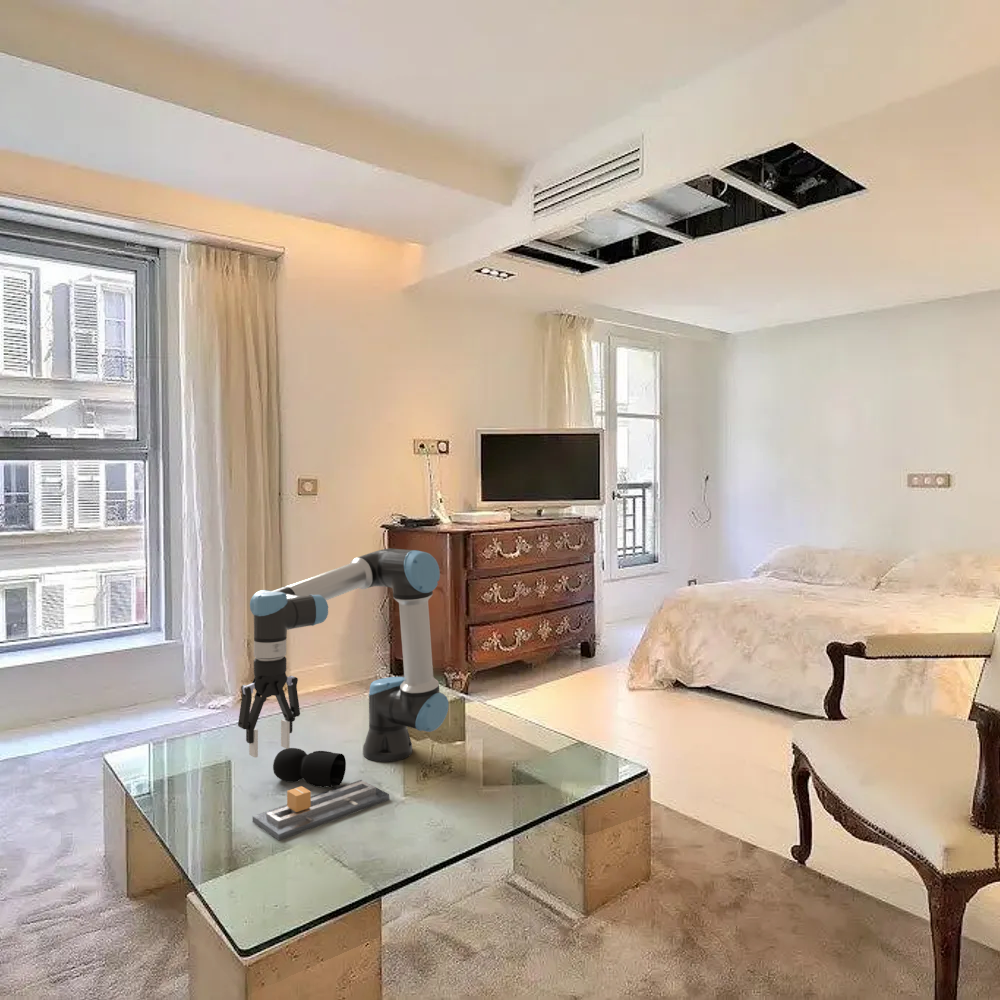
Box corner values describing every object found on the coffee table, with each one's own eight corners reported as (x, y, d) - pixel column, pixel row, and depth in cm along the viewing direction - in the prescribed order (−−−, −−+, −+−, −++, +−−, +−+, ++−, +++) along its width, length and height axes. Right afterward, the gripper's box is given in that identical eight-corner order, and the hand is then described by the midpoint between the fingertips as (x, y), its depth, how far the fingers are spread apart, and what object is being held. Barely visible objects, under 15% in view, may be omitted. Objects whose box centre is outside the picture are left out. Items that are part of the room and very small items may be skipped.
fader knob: (296, 817, 181) (296, 795, 180) (287, 811, 184) (287, 790, 184) (310, 812, 183) (310, 791, 183) (301, 806, 186) (301, 785, 186)
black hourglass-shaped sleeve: (351, 756, 209) (289, 748, 214) (338, 750, 201) (273, 743, 207) (343, 791, 205) (280, 782, 210) (329, 787, 197) (264, 778, 202)
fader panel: (278, 840, 173) (278, 828, 173) (252, 822, 182) (252, 810, 182) (389, 799, 195) (389, 789, 195) (360, 785, 204) (360, 775, 204)
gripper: (236, 667, 167) (236, 767, 167) (315, 653, 181) (315, 744, 182) (221, 661, 172) (221, 757, 173) (300, 648, 187) (299, 737, 187)
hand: (269, 751), depth 177 cm, fingers open, 8 cm apart
